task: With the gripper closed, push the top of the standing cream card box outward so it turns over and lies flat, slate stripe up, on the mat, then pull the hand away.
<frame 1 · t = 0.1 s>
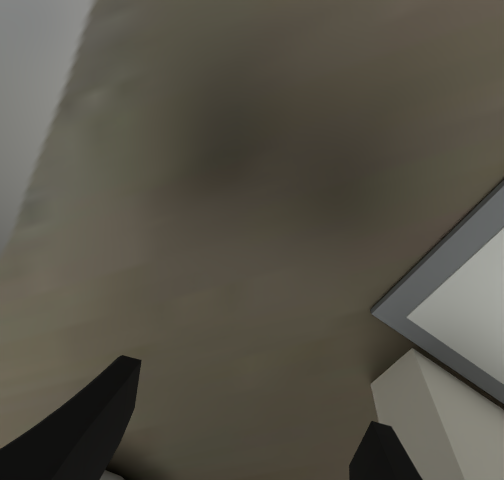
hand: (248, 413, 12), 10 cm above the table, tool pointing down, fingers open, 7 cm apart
card box: (448, 404, 24), on the table
donut: (117, 475, 30), on the table
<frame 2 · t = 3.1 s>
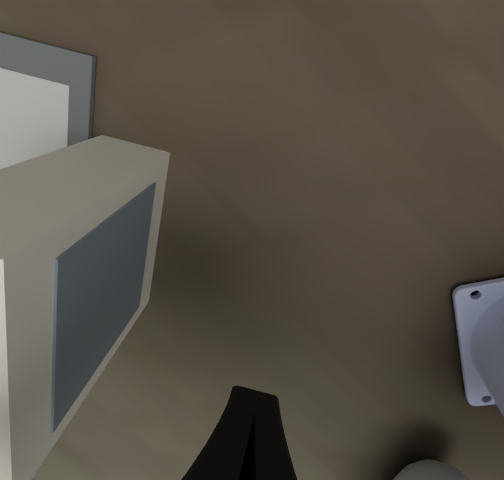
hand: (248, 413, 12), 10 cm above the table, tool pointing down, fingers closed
card box: (127, 225, 21), on the table
donut: (408, 472, 27), on the table
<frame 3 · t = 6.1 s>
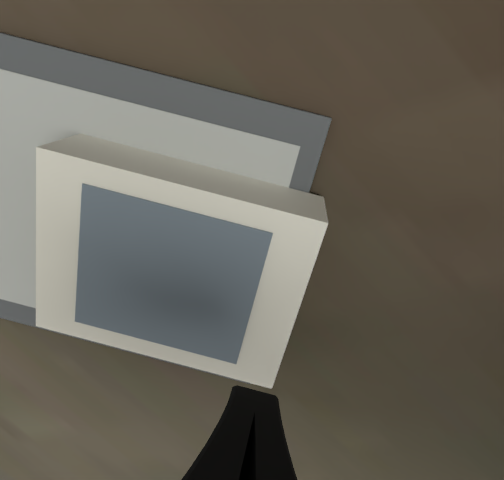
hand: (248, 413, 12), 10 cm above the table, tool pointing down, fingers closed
mat: (122, 226, 21), on the table
card box: (297, 294, 19), point 2 cm above the table, tilted 90°, touching mat
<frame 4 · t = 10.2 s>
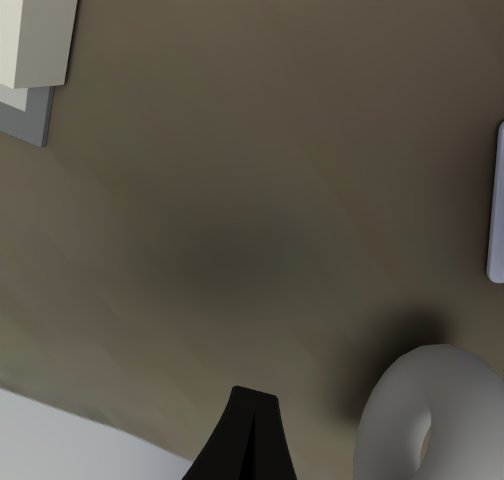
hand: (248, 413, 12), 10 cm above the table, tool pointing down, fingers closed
donut: (401, 369, 24), on the table
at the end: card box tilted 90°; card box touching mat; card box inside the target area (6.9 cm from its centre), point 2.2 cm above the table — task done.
